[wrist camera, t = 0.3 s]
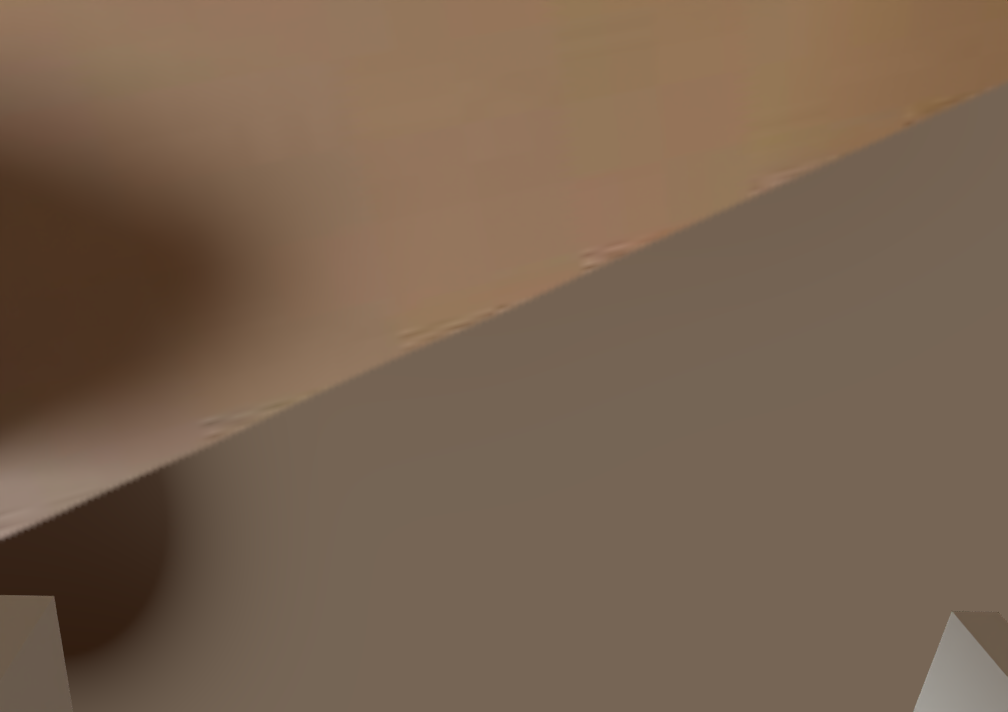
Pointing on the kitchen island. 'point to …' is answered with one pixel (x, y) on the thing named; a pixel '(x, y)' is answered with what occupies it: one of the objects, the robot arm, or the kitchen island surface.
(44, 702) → the robot arm
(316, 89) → the kitchen island surface
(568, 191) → the kitchen island surface
